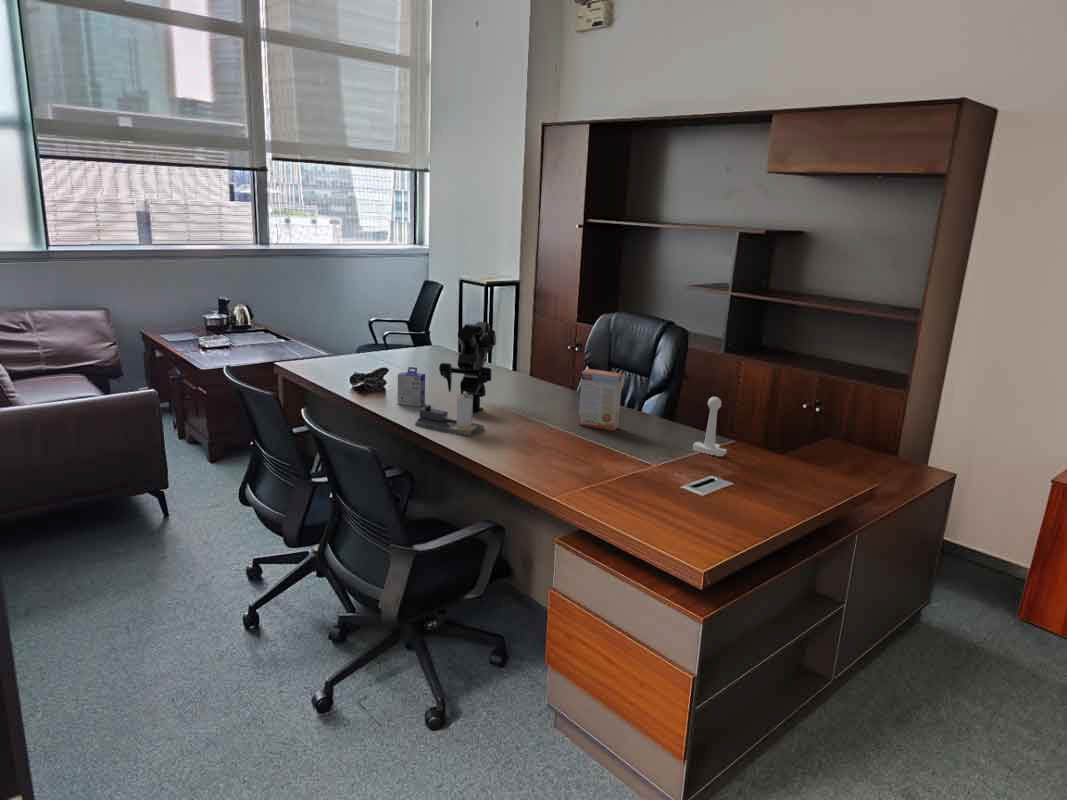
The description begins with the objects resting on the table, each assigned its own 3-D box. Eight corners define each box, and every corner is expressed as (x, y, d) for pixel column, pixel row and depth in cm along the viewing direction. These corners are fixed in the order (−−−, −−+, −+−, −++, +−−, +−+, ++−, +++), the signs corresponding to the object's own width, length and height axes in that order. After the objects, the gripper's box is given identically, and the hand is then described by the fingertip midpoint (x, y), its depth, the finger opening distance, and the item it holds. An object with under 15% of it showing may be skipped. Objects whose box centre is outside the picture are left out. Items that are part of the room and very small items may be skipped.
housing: (458, 423, 263) (459, 389, 259) (472, 424, 263) (473, 390, 259) (456, 427, 258) (457, 393, 255) (470, 428, 258) (471, 394, 255)
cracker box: (618, 427, 274) (623, 373, 268) (613, 431, 269) (618, 376, 263) (583, 421, 279) (587, 367, 274) (577, 425, 274) (581, 370, 268)
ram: (424, 416, 269) (425, 403, 267) (448, 421, 265) (448, 408, 263) (419, 419, 265) (419, 406, 264) (443, 423, 262) (443, 410, 260)
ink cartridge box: (425, 403, 291) (426, 367, 287) (420, 407, 286) (421, 371, 282) (402, 400, 293) (402, 365, 289) (396, 404, 288) (396, 368, 284)
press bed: (430, 418, 272) (430, 412, 272) (484, 429, 264) (484, 423, 263) (415, 425, 263) (415, 419, 263) (470, 436, 255) (470, 430, 254)
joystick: (690, 450, 253) (697, 394, 247) (701, 445, 258) (708, 390, 253) (720, 459, 246) (727, 401, 241) (730, 453, 252) (737, 397, 246)
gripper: (441, 341, 263) (433, 380, 257) (492, 346, 263) (486, 385, 256) (444, 356, 273) (437, 393, 267) (494, 361, 273) (488, 399, 266)
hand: (462, 392), depth 264 cm, fingers open, 9 cm apart
